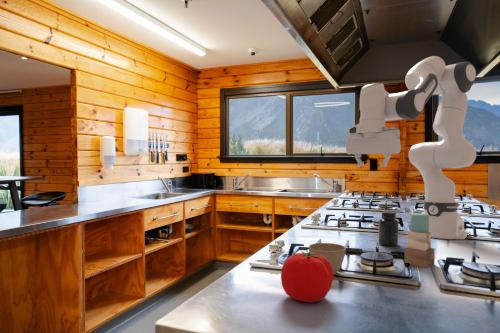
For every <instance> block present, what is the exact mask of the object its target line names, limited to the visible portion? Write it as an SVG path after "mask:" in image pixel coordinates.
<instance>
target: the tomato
mask: <svg viewBox="0 0 500 333" xmlns="http://www.w3.org/2000/svg"><path fill="white" fill-rule="evenodd" d="M280 273H281V274H280V281H281V285H282V289H283V290H284V292H285V294H286V295H287V296H288V297H290V298H291V299H294V300H296V301H300V302H305V303H316V302H320V301H322V300H323V299H324V298H326V296H327V295H328V294H329V292H330V290H331V289H332V285H333V283H334V275H333V269H332V267H331V265H330V263H329V262H328V260H327V259H326V258H325V257H323V256H320V255H317V254H311V253H310V252H304V251H302V250H300V252H298V253H293V254H292V255H291V256H290V257H288V258H287V259H286V260H285V261H284V262H283V265H282V267H281V272H280Z"/></svg>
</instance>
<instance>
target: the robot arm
mask: <svg viewBox="0 0 500 333" xmlns="http://www.w3.org/2000/svg"><path fill="white" fill-rule="evenodd" d="M476 78H477V71H476V68H475V66H474V65H473V64H472V63H471V61H461V62H457V63H453V64H449V65H446V62H445V61H444V59H442V57H440V56H438V55H437V56H436V55H431V56H429V57H426V58H423V59H422V60H421V61H419V62H417V63H416V64H415V65H414V66H413V67H412V68H410V69H409V70H408V72H407V73H406V75H405V78H404V82H405V86H406V88H407V89H408V90H405V91H401V92H397V93H396V92H395V93H389V92H388V91H387V90H386V89H385V85H384V83H381V82H376V83H371V84H366V85H364V86H363V87H361V89H360V94H359V111H360V117H359V123H357V124H356V125H354V126H352V127H349V128H347V135H348V136H346V140H345V141H346V142H345V152H346V153H347V155H354V159H355V160H356V162H357V167H364V166H365V165H364V162H365V161H362V159H361V158H362V155H375V154H376V155H378V154H379V155H382V154H383V157H384V159H383V161H381V162H380V167H381V168H387V167H388V162H389V161H390V159H391V156H392V155H391V154H393V155H394V154H395V155H396V154H400V152H401V151H402V147H401V146H402V144H401V139H400V137H401V131H400V129H399V128H398V127H397V126H391V127H389V126H388V127H386V122H389V121H398V120H399V121H400V120H415V119H418V118H419V117H420V116H421V114H422V113H423V111H424V109H425V106H426V104H427V102H428V101H429V99H430V98H431V97H433V96H434V97H435V96H436V95H437V96H438V95H441V100H440V101H439V104H438V106H437V109H436V110H437V111H436V113H435V117H434V121H433V124H432V130H433V131H434V133H435V134H436V135H437V136H439V137H441V138H442V139H441V141H427V142H425V141H424V142H420V143H416V144H412V146H411V147H410V149H409V152H408V159H409V162H410V164H411V165H412V166H414V167H415V169H417V170H418V172H419V173H420V174H421V177H422V180H423V184H424V201H423V212H421V213H420V214H427V215H429V231H431V238H435V239H442V240H443V239H445V240H466V239H467V238H466V236H467V235H468V234H469V233H470V234H471V232H470V231H469V230H465V221H464V219H463V218H462V216H461V215H460V214H459V213H458V208H459V207H460V202H457V201H456V184H455V182H454V181H453V180H452V179H450V178H449V177H447V176H446V175H445V174H444V173H443V170H442V169H462V168H467V167H471V166H472V165H473V164H474V162H475V160H476V159H477V150H476V148H475V146H474V145H473V144H472V143H471V142H470V141H468V140H467V139H466V137H465V135H464V125H465V120H466V117H467V112H468V95H467V94H466V93H468V92H469V91H470V90H471V88H472V87H473V85H474V84H475V81H476ZM465 238H466V239H465Z"/></svg>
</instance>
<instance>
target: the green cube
mask: <svg viewBox="0 0 500 333" xmlns="http://www.w3.org/2000/svg"><path fill="white" fill-rule="evenodd" d="M409 225H410V227H409V228H410V230H409V231H412V232H417V233H429V215H427V214H421V213H416V212H415V213H410V224H409Z"/></svg>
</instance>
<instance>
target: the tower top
mask: <svg viewBox="0 0 500 333" xmlns="http://www.w3.org/2000/svg"><path fill="white" fill-rule="evenodd" d="M431 238H432V237H431V231H429V233H417V232H412V231H410V230H408V231H407V247H408V248H411V249H417V250H423V251H426V250H428V249H429V248H432V247H431V246H432V243H431V242H432V239H431Z"/></svg>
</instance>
